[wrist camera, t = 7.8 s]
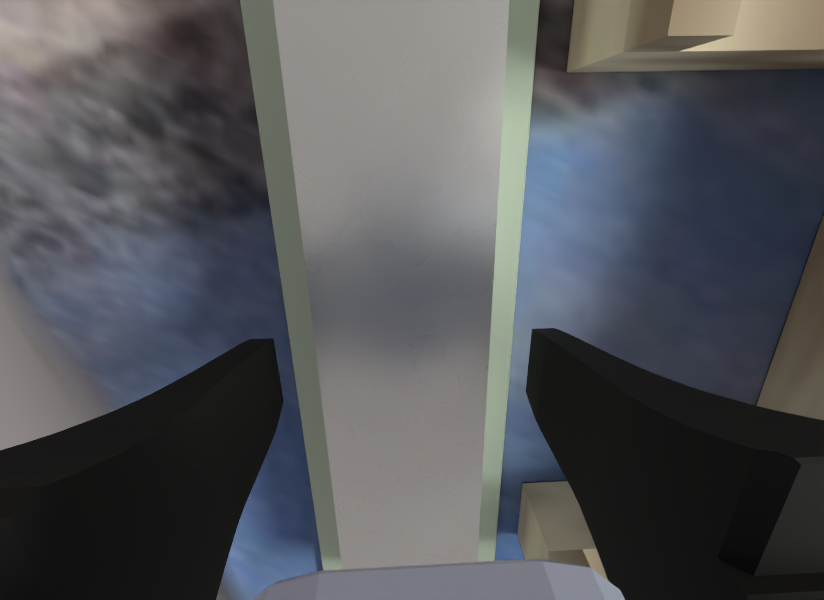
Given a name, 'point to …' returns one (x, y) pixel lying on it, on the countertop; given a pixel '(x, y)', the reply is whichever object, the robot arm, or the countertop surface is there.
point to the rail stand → (695, 51)
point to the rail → (399, 257)
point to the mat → (293, 270)
